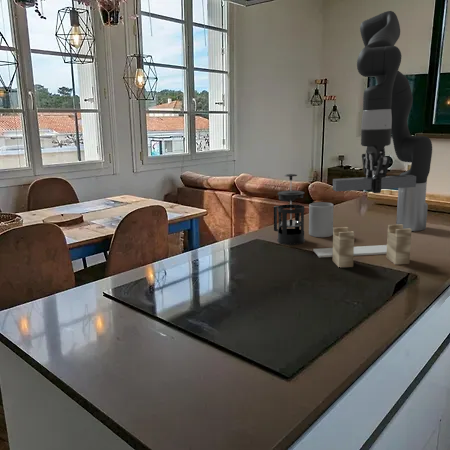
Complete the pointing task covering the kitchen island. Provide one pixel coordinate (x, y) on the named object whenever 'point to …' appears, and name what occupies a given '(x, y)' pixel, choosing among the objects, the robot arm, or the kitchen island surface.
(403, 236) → the post
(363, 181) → the rail
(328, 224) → the mug
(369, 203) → the kitchen island surface
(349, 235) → the post
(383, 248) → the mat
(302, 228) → the french press
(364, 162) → the robot arm
